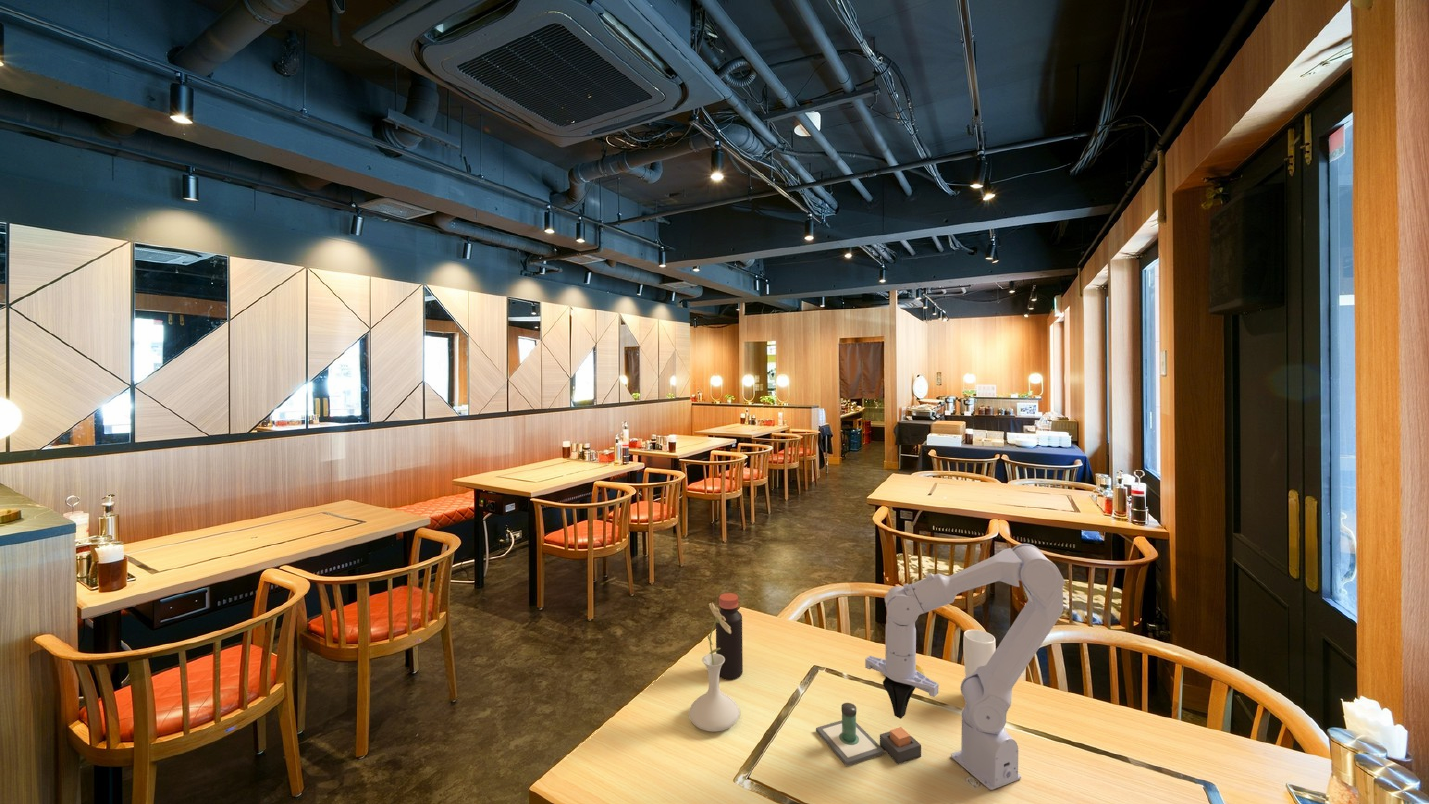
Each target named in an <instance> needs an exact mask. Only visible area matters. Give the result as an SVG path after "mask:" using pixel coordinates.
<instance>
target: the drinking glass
mask: <svg viewBox="0 0 1429 804" xmlns="http://www.w3.org/2000/svg"><path fill="white" fill-rule="evenodd" d="M962 640H963V641H962V644H963V645H962V646H963V647H962V648H963V662H964V673H965V674H964V675H965V677H964V678H966V677H967V676H969V675H971V674H973V673H974V672H975V671H976V669H977V668H978V667H980V666H985V665H986V664H987V663H988V661H989V660H990V658H991V657H992V655H993V654H994V652H995V651H996V649H997V648H996V647H997V646H996V638H995V636H994V635H993V634H991V633H989V632H987V631H984V630H980V629H966V630H965V631H964V632H963V639H962Z"/></svg>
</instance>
